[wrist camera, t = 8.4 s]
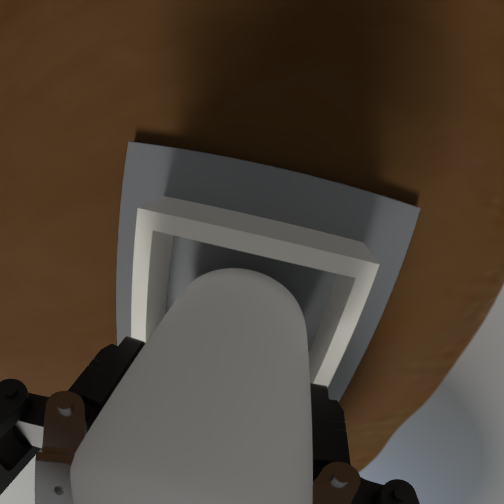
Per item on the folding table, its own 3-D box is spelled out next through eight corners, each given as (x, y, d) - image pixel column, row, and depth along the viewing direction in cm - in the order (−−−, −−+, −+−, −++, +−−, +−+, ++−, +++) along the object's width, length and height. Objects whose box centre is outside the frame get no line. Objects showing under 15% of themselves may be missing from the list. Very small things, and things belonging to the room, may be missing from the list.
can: (313, 367, 15) (317, 597, 4) (197, 378, 17) (124, 572, 5) (294, 252, 14) (291, 566, 2) (159, 275, 15) (-10, 477, 3)
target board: (133, 141, 15) (96, 142, 11) (415, 206, 14) (447, 222, 11) (122, 363, 20) (100, 396, 17) (327, 414, 19) (331, 453, 16)
